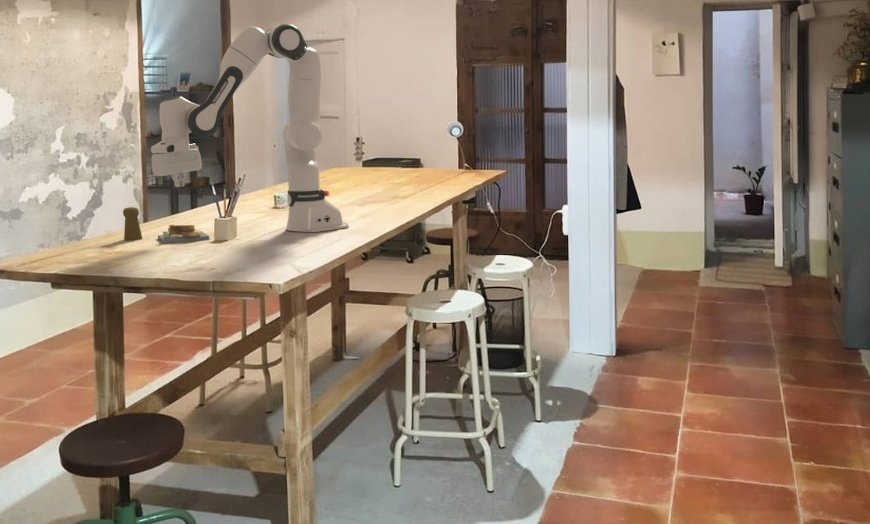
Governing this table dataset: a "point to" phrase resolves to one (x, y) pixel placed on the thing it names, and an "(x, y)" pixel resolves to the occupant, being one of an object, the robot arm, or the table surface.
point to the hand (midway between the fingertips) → (179, 186)
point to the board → (180, 237)
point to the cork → (131, 224)
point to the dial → (184, 230)
